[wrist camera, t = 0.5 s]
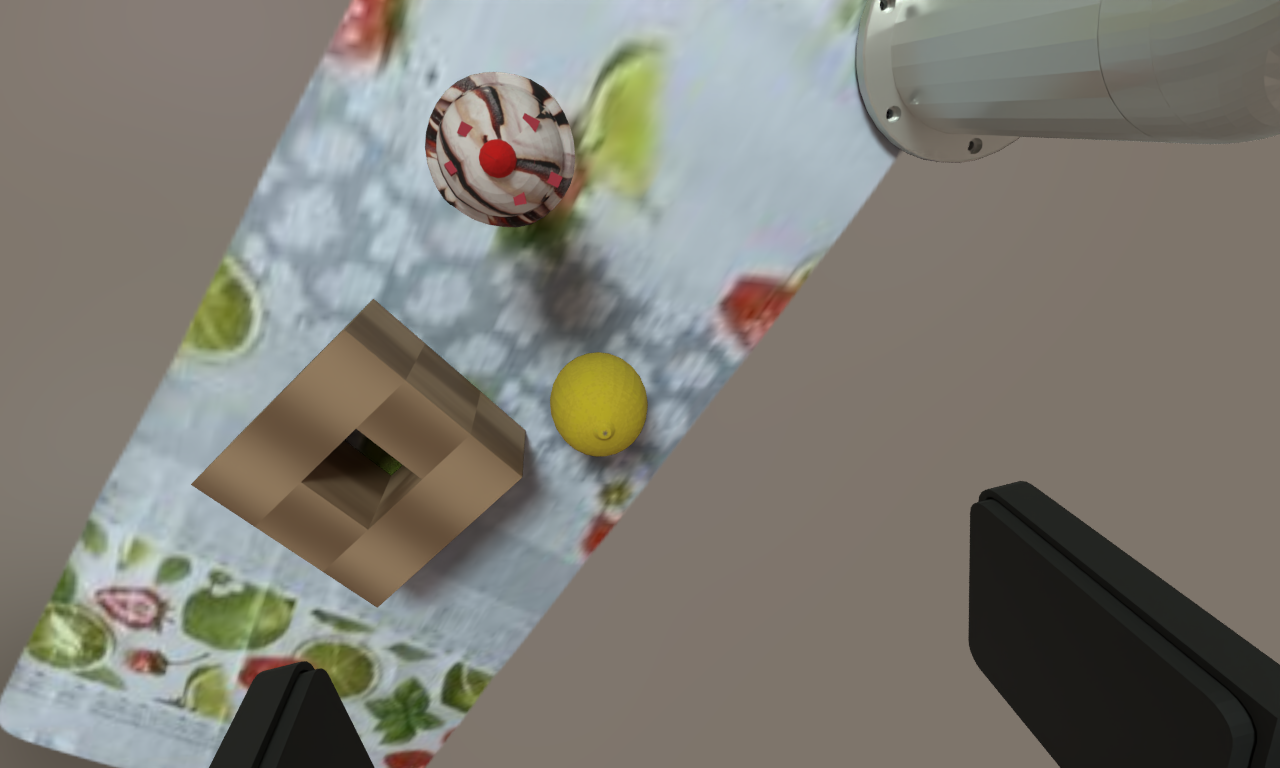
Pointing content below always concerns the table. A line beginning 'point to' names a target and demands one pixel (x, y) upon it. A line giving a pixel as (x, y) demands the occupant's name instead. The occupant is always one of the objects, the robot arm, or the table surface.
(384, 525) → the cone stand
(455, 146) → the ice cream cone
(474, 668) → the table surface
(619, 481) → the table surface
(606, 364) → the lemon
